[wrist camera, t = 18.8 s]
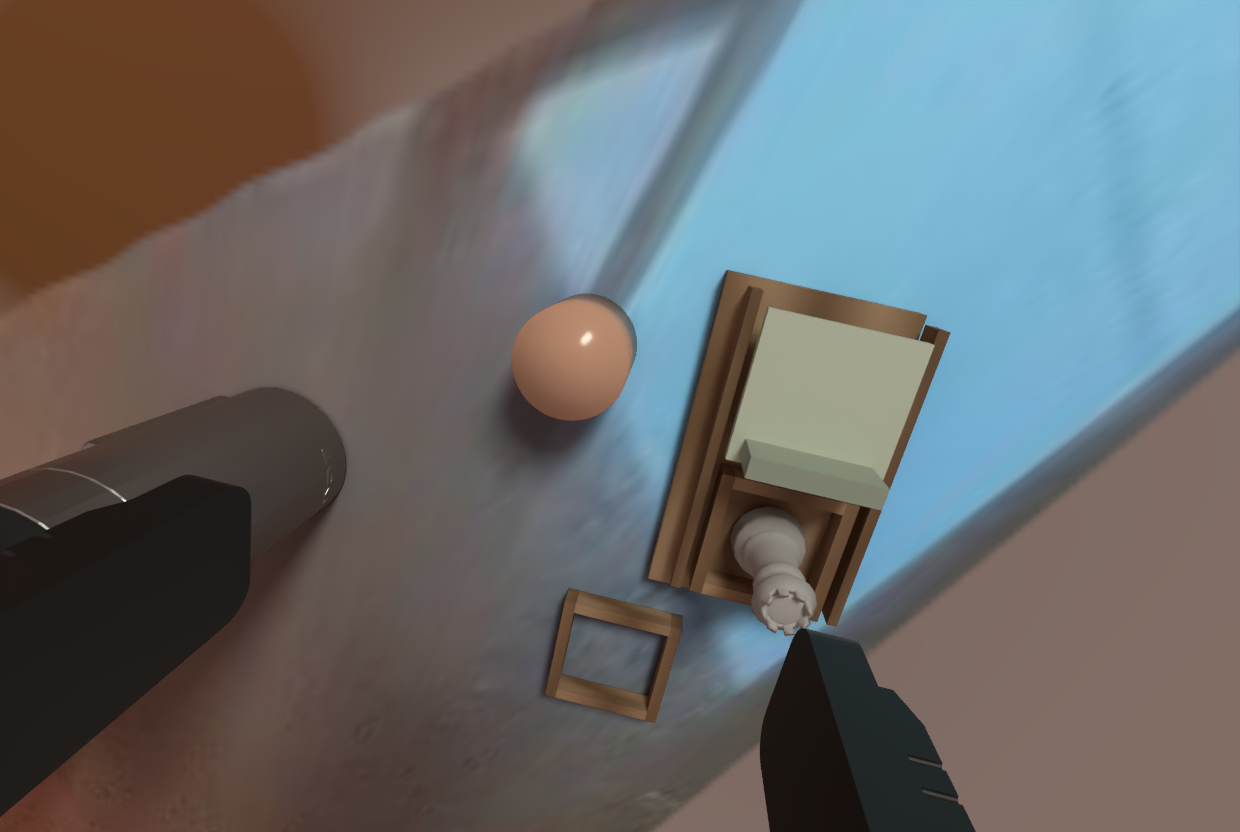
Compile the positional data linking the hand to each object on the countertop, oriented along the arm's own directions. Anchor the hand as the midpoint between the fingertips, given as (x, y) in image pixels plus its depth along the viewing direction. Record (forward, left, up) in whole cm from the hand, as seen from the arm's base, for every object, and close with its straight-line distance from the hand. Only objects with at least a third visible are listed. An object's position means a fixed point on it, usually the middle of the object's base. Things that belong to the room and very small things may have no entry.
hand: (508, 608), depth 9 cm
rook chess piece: (+10, -11, -27) cm, 31 cm away
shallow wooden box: (+10, -6, -28) cm, 30 cm away
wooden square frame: (+3, -23, -28) cm, 36 cm away
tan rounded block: (-3, -2, -28) cm, 28 cm away
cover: (+10, -1, -25) cm, 27 cm away
